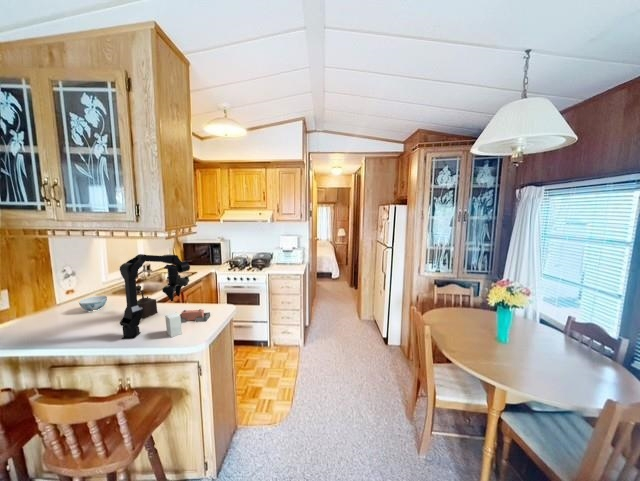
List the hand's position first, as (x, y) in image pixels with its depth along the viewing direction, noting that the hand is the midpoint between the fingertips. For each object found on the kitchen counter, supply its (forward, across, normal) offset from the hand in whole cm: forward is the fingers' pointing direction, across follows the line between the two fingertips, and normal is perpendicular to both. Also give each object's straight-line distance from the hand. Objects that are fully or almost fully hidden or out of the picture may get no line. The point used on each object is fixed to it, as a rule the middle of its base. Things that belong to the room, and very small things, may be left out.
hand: (175, 298), depth 170 cm
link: (+12, -6, -12) cm, 18 cm away
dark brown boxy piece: (+12, +8, +25) cm, 29 cm away
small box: (+12, -24, -8) cm, 28 cm away
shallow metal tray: (+12, -6, -12) cm, 18 cm away
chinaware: (+12, +21, +63) cm, 68 cm away
